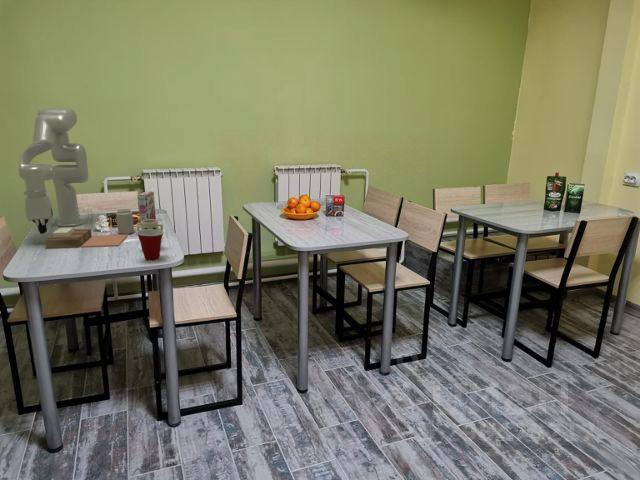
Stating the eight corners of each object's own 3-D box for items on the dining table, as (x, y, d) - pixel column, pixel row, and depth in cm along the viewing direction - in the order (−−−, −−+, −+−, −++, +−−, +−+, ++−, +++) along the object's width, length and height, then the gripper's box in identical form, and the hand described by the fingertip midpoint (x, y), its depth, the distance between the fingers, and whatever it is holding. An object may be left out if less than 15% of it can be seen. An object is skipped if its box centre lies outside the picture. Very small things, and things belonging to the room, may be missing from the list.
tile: (60, 231, 227) (60, 227, 226) (74, 231, 227) (73, 227, 227) (53, 237, 218) (52, 232, 217) (67, 236, 219) (66, 232, 218)
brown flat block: (61, 237, 232) (60, 229, 231) (91, 236, 234) (90, 228, 232) (46, 248, 215) (44, 240, 213) (79, 247, 216) (77, 239, 215)
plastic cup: (169, 259, 201) (167, 232, 198) (143, 264, 195) (140, 236, 192) (161, 253, 209) (159, 226, 206) (136, 257, 204) (133, 230, 200)
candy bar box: (149, 225, 255) (146, 195, 251) (139, 225, 256) (136, 194, 251) (156, 220, 266) (154, 191, 262) (147, 220, 266) (145, 191, 262)
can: (127, 235, 236) (124, 211, 232) (114, 234, 238) (112, 210, 235) (137, 231, 243) (135, 208, 239) (125, 230, 245) (122, 207, 242)
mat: (93, 236, 234) (93, 235, 234) (128, 235, 236) (127, 234, 236) (81, 247, 217) (81, 246, 216) (118, 246, 219) (118, 244, 219)
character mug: (139, 252, 210) (136, 223, 206) (139, 247, 216) (136, 220, 213) (165, 249, 214) (162, 221, 210) (164, 245, 220) (161, 218, 217)
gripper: (15, 195, 212) (22, 235, 217) (51, 195, 214) (57, 234, 219) (22, 192, 219) (29, 231, 224) (57, 192, 221) (63, 230, 226)
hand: (43, 233), depth 221 cm, fingers closed
